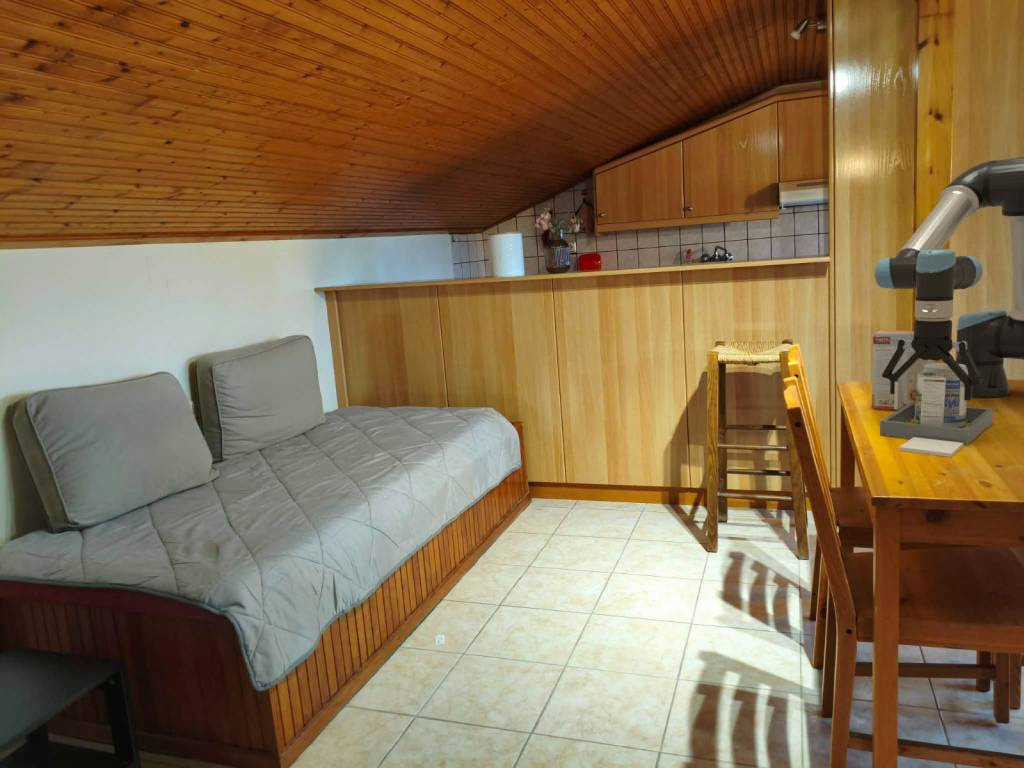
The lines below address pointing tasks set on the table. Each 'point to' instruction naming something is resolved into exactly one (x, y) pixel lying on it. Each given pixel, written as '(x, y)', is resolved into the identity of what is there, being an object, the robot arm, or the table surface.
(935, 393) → the syrup box
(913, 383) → the cracker box
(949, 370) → the supplement tub
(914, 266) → the robot arm
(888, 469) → the table surface
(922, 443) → the board
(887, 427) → the bin
